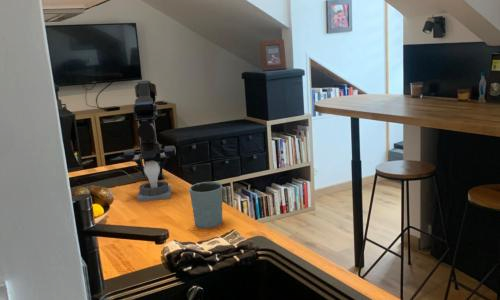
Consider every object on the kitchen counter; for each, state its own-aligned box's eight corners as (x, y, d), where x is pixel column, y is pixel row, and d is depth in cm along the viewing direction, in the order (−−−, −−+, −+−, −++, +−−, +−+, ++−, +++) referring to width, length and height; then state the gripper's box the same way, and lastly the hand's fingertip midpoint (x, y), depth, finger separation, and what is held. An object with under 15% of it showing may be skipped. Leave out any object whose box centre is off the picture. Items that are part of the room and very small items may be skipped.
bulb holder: (140, 192, 186) (139, 182, 185) (171, 188, 187) (170, 179, 186) (137, 201, 174) (136, 191, 173) (170, 198, 175) (169, 187, 174)
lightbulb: (164, 186, 183) (161, 158, 180) (159, 191, 177) (156, 162, 174) (148, 186, 183) (145, 159, 181) (144, 191, 177) (140, 163, 175)
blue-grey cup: (208, 215, 155) (205, 180, 152) (232, 221, 148) (229, 184, 146) (186, 225, 147) (182, 188, 144) (209, 232, 141) (206, 193, 138)
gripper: (118, 141, 166) (124, 183, 170) (172, 136, 168) (177, 178, 172) (123, 135, 177) (128, 175, 181) (173, 130, 179) (177, 170, 183)
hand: (152, 175), depth 179 cm, fingers closed on lightbulb, 6 cm apart
